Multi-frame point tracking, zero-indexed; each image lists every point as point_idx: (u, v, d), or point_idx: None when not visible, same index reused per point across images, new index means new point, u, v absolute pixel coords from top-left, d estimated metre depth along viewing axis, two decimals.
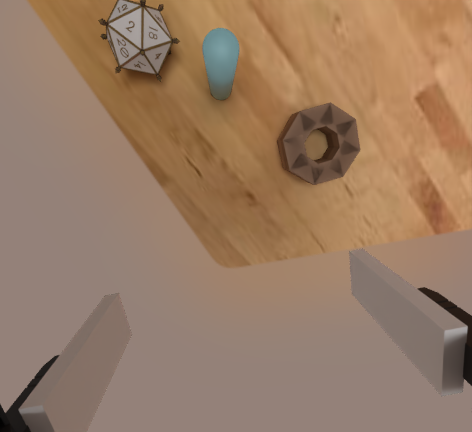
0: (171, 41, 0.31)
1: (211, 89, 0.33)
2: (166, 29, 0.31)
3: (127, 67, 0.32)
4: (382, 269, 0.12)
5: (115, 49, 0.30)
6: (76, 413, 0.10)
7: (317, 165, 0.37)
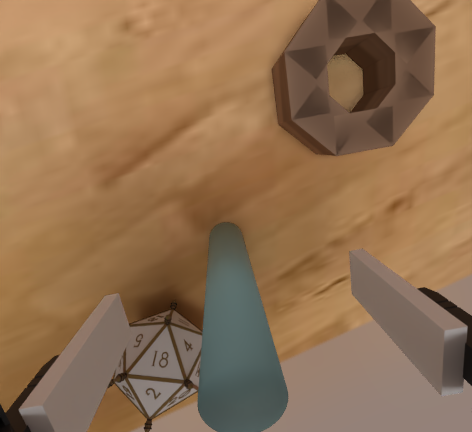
0: (168, 325, 0.21)
1: None
2: (151, 328, 0.21)
3: None
4: (382, 269, 0.12)
5: (179, 401, 0.21)
6: (76, 413, 0.10)
7: (398, 86, 0.18)
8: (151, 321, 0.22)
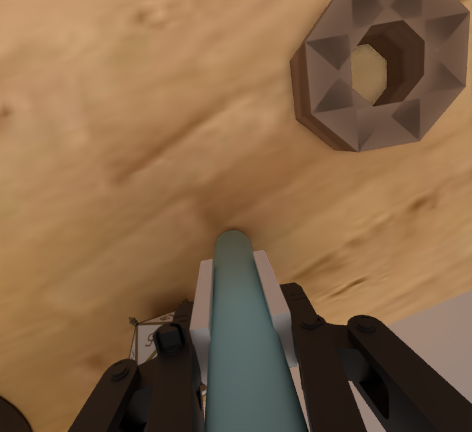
0: None
1: None
2: None
3: None
4: (265, 267, 0.15)
5: None
6: None
7: (426, 77, 0.17)
8: (163, 320, 0.22)
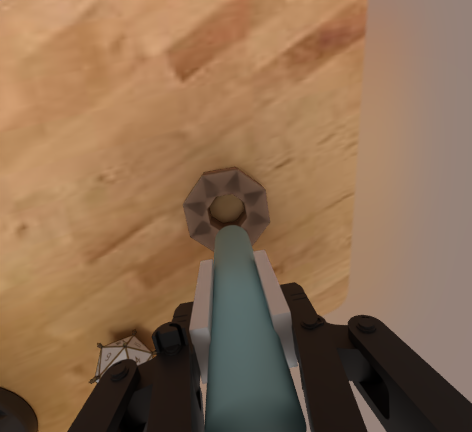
0: (125, 348, 0.35)
1: None
2: (116, 349, 0.36)
3: None
4: (265, 267, 0.15)
5: None
6: None
7: (248, 218, 0.33)
8: (117, 344, 0.37)
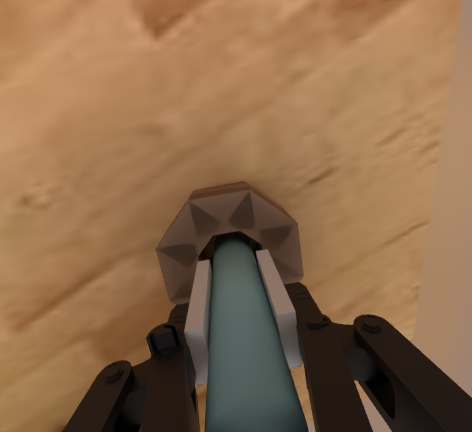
0: None
1: None
2: None
3: None
4: (269, 266, 0.15)
5: None
6: None
7: None
8: None
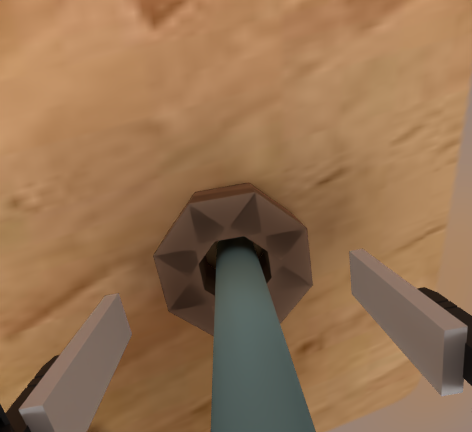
0: None
1: None
2: None
3: None
4: (382, 269, 0.12)
5: None
6: (76, 413, 0.10)
7: (274, 279, 0.18)
8: None
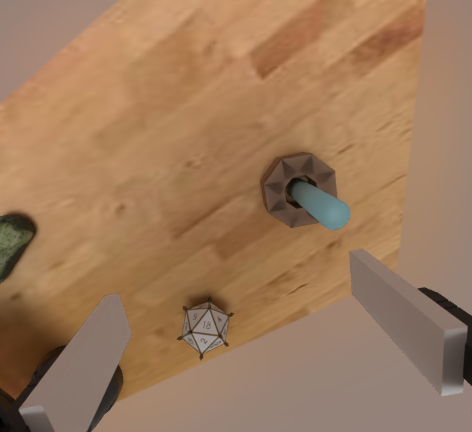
0: (209, 309, 0.42)
1: None
2: (201, 310, 0.42)
3: (225, 338, 0.43)
4: (382, 269, 0.12)
5: (215, 347, 0.42)
6: (76, 413, 0.10)
7: None
8: (200, 307, 0.43)
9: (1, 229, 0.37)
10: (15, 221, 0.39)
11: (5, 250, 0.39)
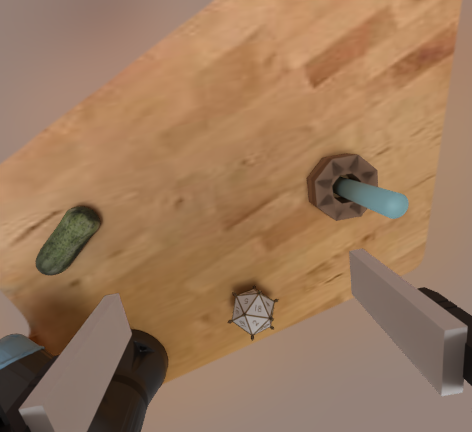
0: (259, 294, 0.46)
1: None
2: (251, 296, 0.46)
3: (271, 322, 0.47)
4: (382, 269, 0.12)
5: (263, 329, 0.46)
6: (76, 413, 0.10)
7: None
8: (249, 293, 0.47)
9: (77, 218, 0.41)
10: (88, 212, 0.42)
11: (78, 239, 0.42)
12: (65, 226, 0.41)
